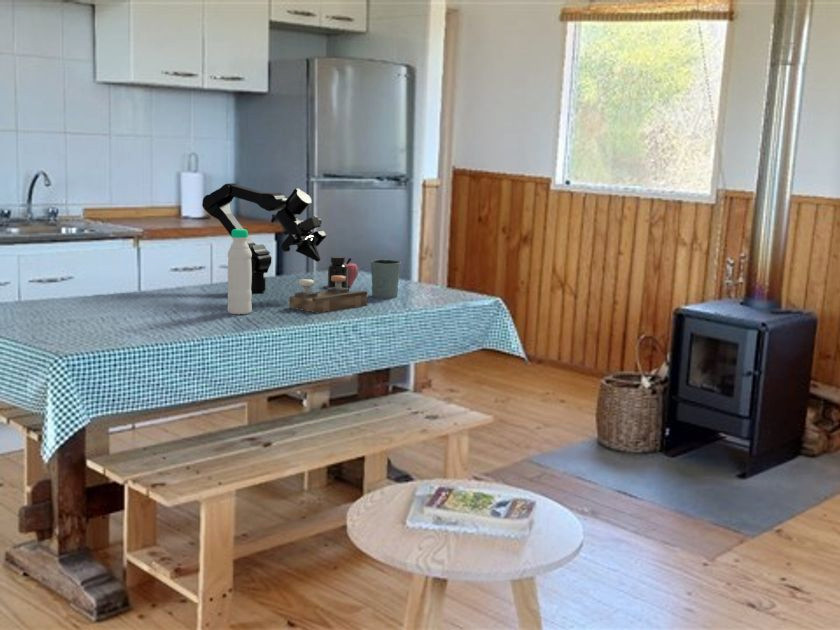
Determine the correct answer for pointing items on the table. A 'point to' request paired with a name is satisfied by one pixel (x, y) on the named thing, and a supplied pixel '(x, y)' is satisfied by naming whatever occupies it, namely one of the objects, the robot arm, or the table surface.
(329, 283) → the supplement bottle
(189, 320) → the table surface
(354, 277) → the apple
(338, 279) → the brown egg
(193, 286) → the table surface
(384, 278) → the grey green plant pot
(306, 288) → the button cream
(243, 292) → the water bottle
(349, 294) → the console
